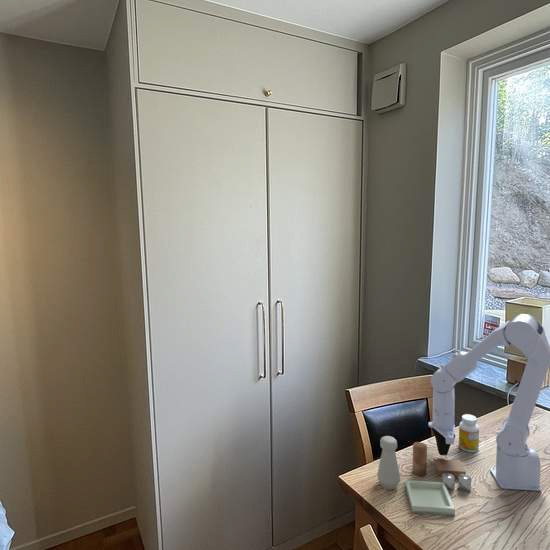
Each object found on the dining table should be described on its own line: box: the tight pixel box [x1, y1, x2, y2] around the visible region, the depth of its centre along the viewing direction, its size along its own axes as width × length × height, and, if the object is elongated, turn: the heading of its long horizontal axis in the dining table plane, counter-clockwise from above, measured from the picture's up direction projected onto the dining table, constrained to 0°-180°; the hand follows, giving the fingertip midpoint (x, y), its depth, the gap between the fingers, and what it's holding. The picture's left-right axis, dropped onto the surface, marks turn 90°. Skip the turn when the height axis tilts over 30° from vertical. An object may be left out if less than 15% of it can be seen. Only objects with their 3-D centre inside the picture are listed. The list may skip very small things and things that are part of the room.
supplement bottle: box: [458, 413, 480, 453], centre depth 120 cm, size 5×5×10 cm
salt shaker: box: [376, 435, 401, 491], centre depth 104 cm, size 6×6×13 cm
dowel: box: [412, 441, 428, 478], centre depth 109 cm, size 4×4×8 cm
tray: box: [404, 479, 456, 517], centre depth 98 cm, size 10×10×2 cm
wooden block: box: [433, 458, 467, 480], centre depth 109 cm, size 7×5×2 cm
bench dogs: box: [441, 473, 472, 493], centre depth 102 cm, size 7×3×3 cm, turn 81°
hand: (442, 454), depth 116 cm, fingers closed
